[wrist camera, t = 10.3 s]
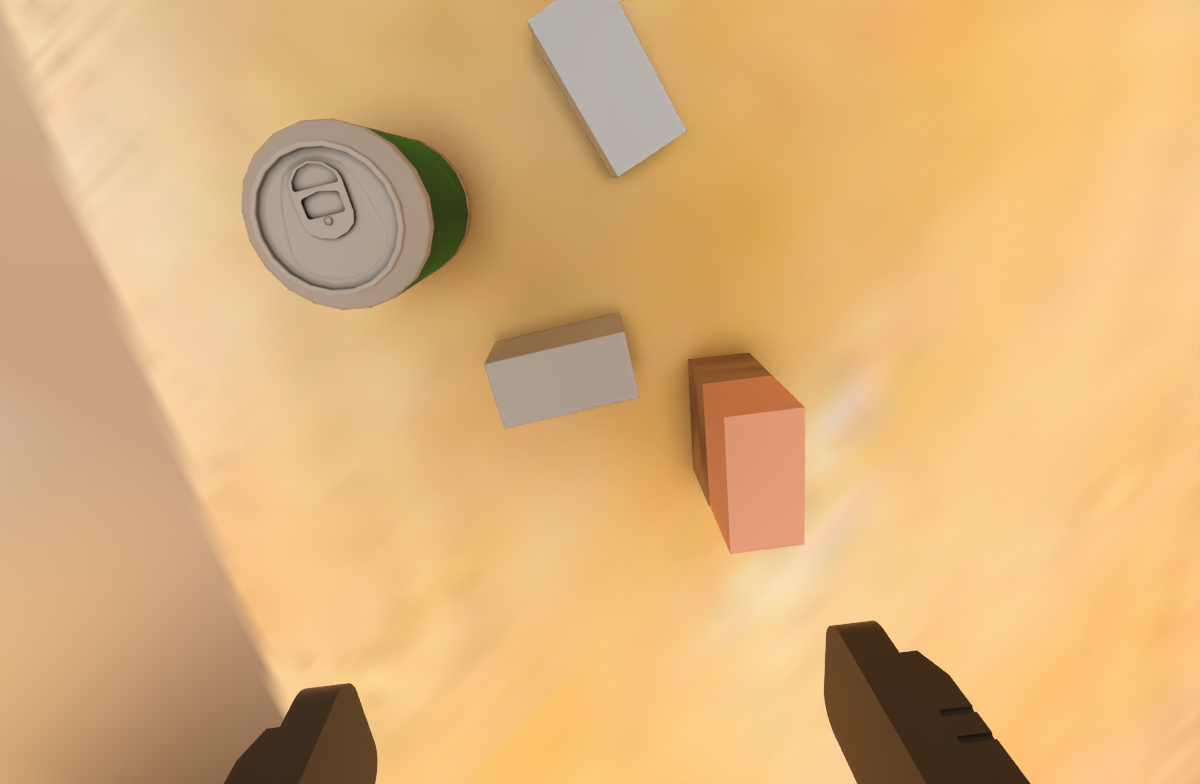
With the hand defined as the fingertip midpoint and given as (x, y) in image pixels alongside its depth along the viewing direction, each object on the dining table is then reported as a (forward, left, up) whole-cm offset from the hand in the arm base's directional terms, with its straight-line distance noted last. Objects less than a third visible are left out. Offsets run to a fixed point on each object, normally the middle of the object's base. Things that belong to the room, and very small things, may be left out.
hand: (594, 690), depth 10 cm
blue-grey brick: (-13, +3, -29) cm, 31 cm away
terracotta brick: (+7, +9, -24) cm, 26 cm away
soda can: (-8, -9, -29) cm, 31 cm away
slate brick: (+2, -1, -29) cm, 29 cm away
